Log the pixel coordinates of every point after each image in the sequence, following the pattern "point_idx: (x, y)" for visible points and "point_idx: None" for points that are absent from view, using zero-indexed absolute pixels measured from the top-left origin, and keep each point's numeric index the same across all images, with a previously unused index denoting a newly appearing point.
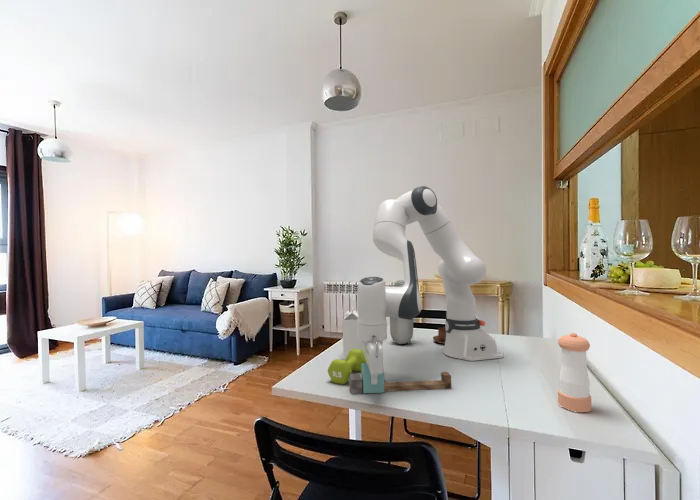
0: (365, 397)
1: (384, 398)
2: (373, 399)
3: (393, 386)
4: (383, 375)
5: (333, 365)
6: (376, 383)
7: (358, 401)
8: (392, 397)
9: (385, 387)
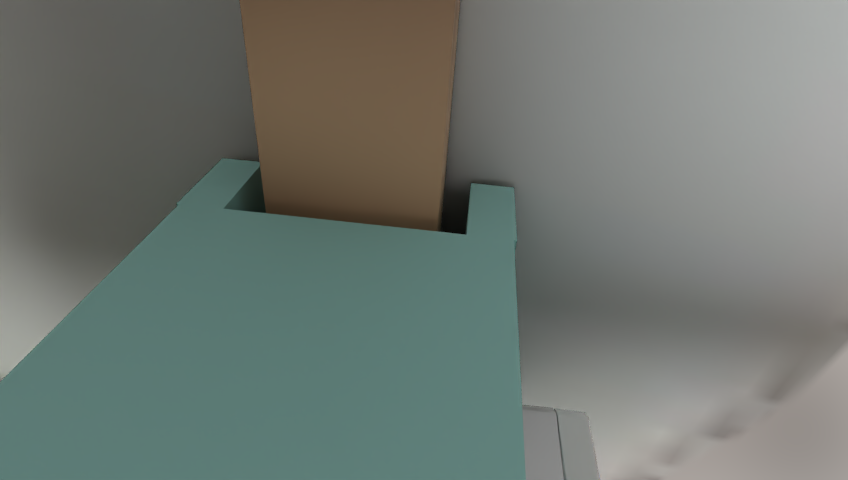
0: (574, 398)
1: (692, 223)
2: (662, 344)
3: (455, 26)
4: (516, 398)
5: None
6: (582, 422)
7: (648, 465)
8: (710, 101)
9: (440, 171)
